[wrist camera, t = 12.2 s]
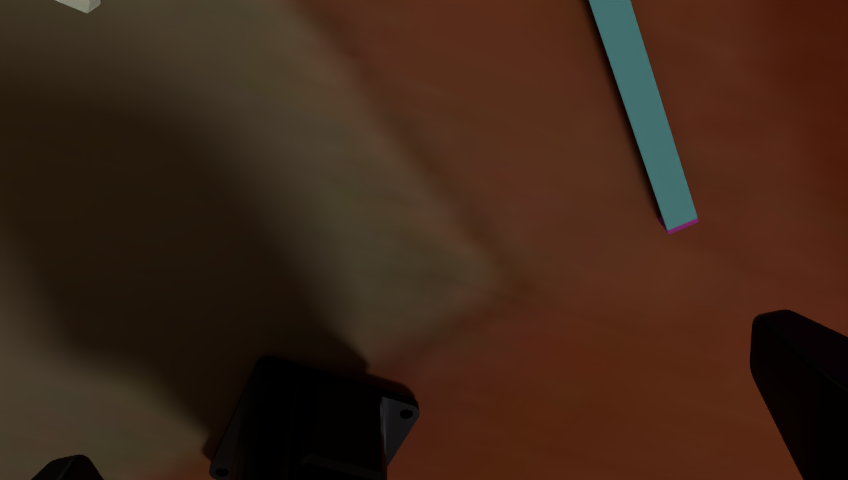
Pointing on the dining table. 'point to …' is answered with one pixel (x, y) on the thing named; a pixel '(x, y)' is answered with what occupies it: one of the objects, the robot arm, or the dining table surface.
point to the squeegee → (645, 111)
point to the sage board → (82, 4)
